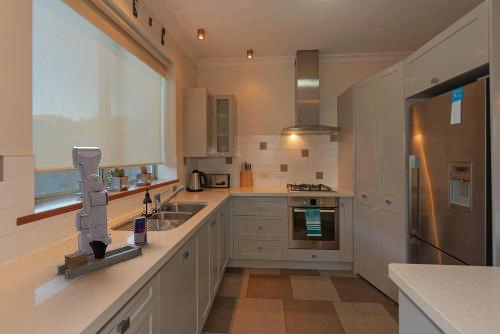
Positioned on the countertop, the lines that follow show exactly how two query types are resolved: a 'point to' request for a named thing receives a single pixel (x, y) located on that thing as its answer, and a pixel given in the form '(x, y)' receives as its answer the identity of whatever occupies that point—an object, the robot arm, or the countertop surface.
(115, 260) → the channel
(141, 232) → the energy drink
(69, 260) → the block
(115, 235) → the countertop surface
